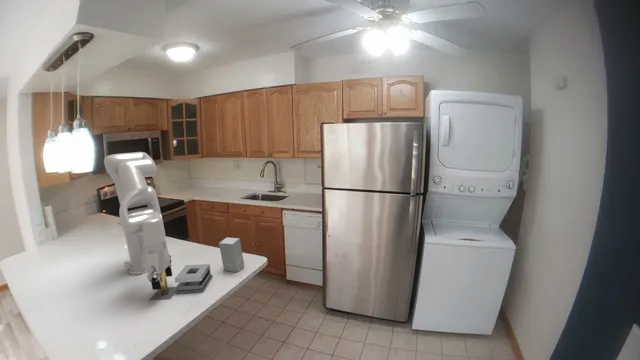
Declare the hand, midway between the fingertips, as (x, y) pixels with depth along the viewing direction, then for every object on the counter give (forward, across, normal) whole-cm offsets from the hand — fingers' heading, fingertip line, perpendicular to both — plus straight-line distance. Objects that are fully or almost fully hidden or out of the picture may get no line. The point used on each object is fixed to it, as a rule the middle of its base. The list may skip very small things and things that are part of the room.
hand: (162, 282), depth 116 cm
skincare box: (+6, -18, +25) cm, 31 cm away
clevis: (+6, -5, +11) cm, 13 cm away
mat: (+6, 0, 0) cm, 6 cm away
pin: (+5, 0, 0) cm, 5 cm away
